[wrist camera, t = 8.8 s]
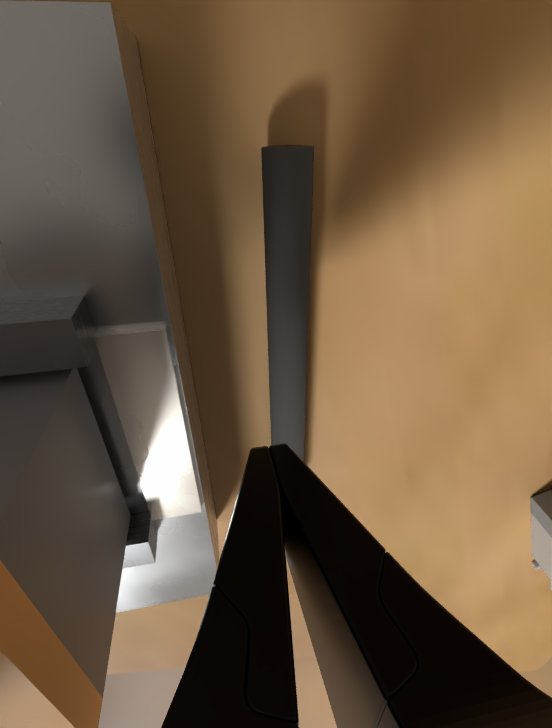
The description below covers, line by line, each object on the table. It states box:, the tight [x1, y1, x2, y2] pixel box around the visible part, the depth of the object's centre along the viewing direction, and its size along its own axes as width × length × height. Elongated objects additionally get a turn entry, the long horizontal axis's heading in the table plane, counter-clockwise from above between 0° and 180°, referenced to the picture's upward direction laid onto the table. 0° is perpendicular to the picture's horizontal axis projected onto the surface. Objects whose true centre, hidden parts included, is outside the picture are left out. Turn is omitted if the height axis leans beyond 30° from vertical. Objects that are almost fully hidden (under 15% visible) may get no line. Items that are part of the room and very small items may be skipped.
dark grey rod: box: [261, 145, 314, 462], centre depth 12 cm, size 12×1×1 cm, turn 1°
